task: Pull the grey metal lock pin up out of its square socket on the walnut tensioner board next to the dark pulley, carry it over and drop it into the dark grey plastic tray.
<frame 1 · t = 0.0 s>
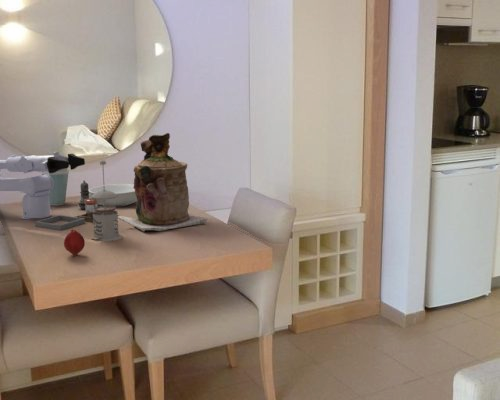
hand: (76, 162, 209), 22 cm above the table, tool horizontal, fingers open, 7 cm apart
onion: (75, 255, 178), on the table
tray: (60, 227, 210), on the table
lock pin: (91, 218, 218), point 1 cm above the table, touching tensioner board
grey tiered figure: (85, 211, 235), on the table
tensioner board: (94, 219, 221), on the table
cookie jar: (162, 222, 217), on the table
serving bowl: (116, 205, 245), on the table
disposable coffee cup: (57, 204, 247), on the table
french press: (105, 237, 198), on the table
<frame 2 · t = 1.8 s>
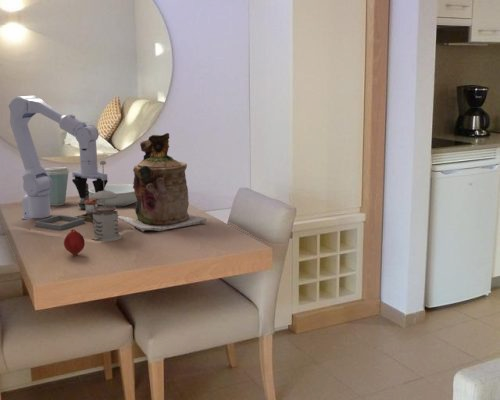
hand: (90, 198, 216), 8 cm above the table, tool pointing down, fingers open, 7 cm apart
nothing on the table moved.
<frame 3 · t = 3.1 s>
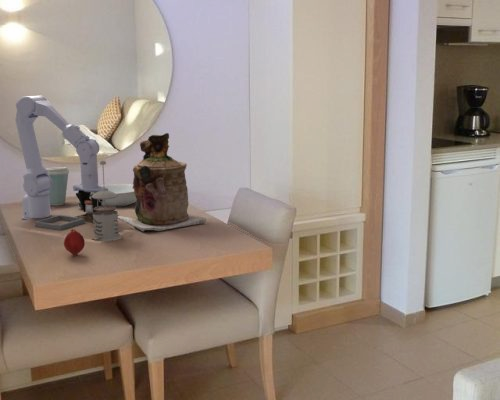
hand: (91, 212, 217), 3 cm above the table, tool pointing down, fingers closed on lock pin, 4 cm apart
lock pin: (91, 218, 218), point 1 cm above the table, touching gripper, tensioner board
everything else where it was.
when the fingers open (5 cm above the table, at t = 6.9 s): lock pin drops 2 cm, resting on tray.
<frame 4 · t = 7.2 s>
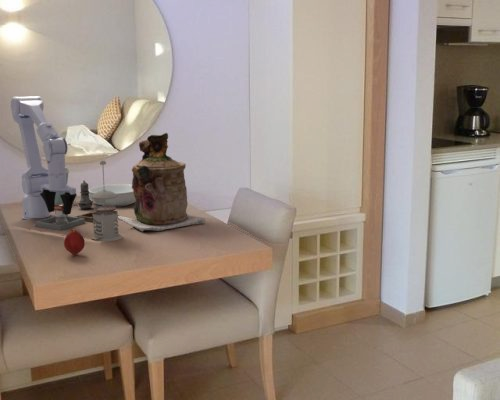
hand: (59, 213, 209), 5 cm above the table, tool pointing down, fingers open, 7 cm apart
lock pin: (62, 225, 210), point 1 cm above the table, touching tray
everything else where it was.
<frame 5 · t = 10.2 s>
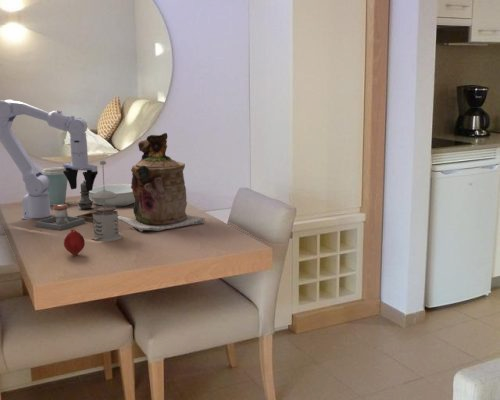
hand: (81, 189, 221), 10 cm above the table, tool pointing down, fingers open, 7 cm apart
nothing on the table moved.
at the end: lock pin inside the target area on the tray (0.7 cm from its centre), point 0.6 cm above the tray's base; the gripper is holding nothing; lock pin moved 11.2 cm from its start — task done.
